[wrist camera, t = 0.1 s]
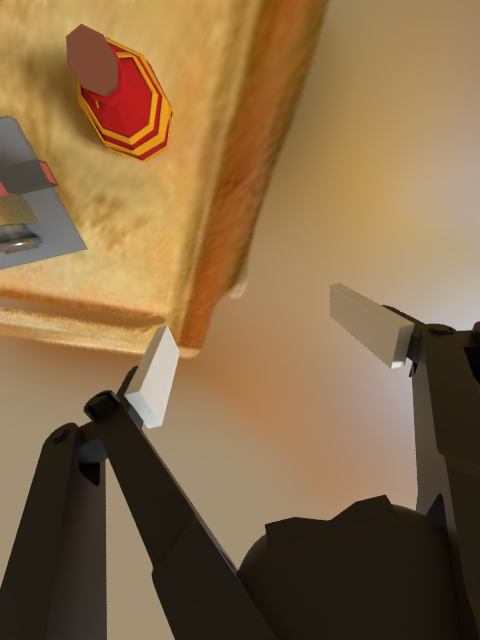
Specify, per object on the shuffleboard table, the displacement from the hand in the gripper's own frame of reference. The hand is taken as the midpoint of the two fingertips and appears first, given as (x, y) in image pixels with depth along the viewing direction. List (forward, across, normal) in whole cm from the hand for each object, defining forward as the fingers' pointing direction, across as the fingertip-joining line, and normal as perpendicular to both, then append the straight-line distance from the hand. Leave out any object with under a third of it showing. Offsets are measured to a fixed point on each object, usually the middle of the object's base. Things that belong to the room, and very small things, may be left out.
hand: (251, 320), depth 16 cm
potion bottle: (+28, -8, +21) cm, 36 cm away
